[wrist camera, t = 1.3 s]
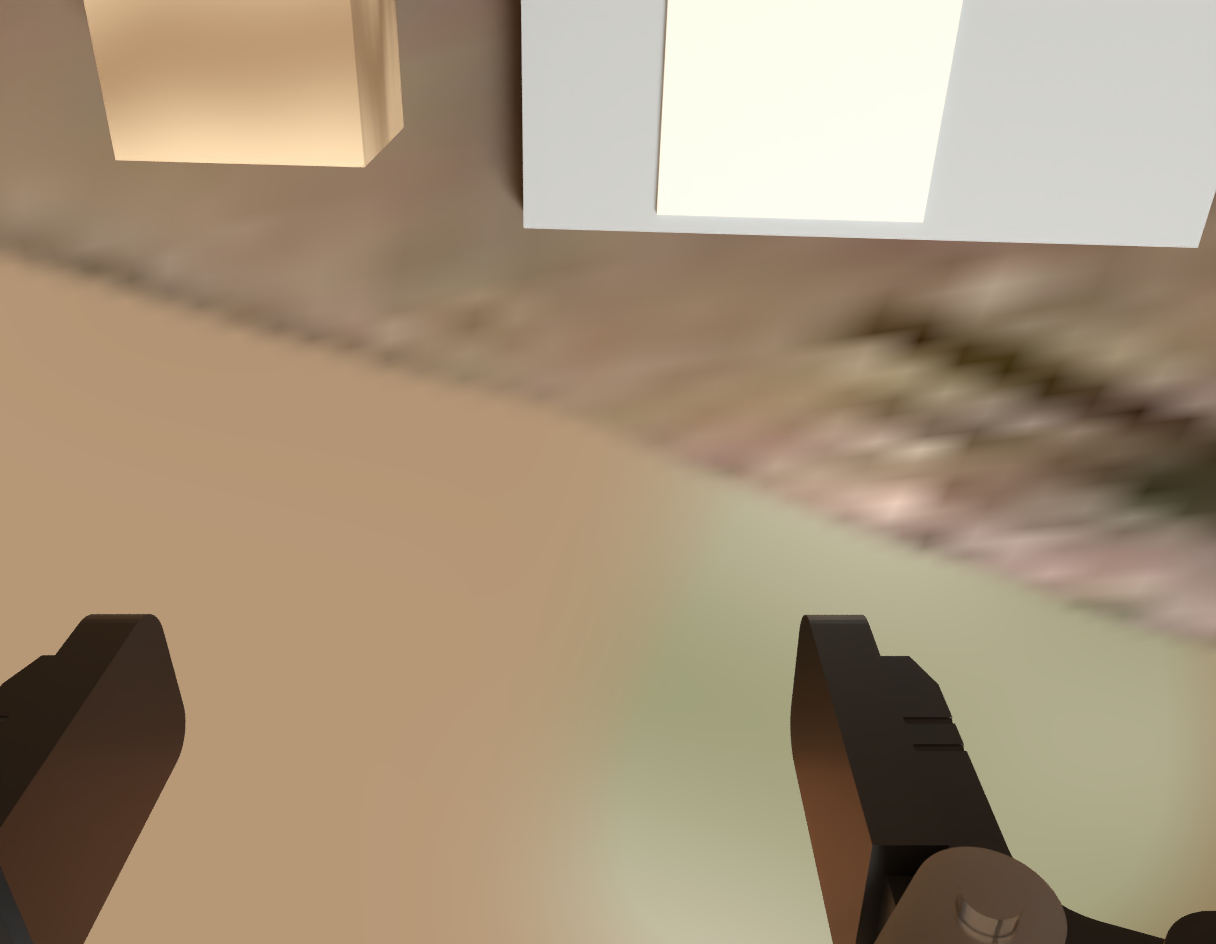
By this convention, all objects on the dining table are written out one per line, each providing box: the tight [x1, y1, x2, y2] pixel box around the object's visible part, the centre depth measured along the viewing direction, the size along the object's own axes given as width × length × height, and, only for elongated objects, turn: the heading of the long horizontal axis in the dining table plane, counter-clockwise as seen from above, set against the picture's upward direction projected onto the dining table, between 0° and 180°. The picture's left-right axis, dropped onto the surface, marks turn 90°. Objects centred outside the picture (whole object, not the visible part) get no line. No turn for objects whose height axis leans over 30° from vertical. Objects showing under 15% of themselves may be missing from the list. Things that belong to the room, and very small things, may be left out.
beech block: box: [84, 0, 404, 167], centre depth 23 cm, size 6×6×5 cm
